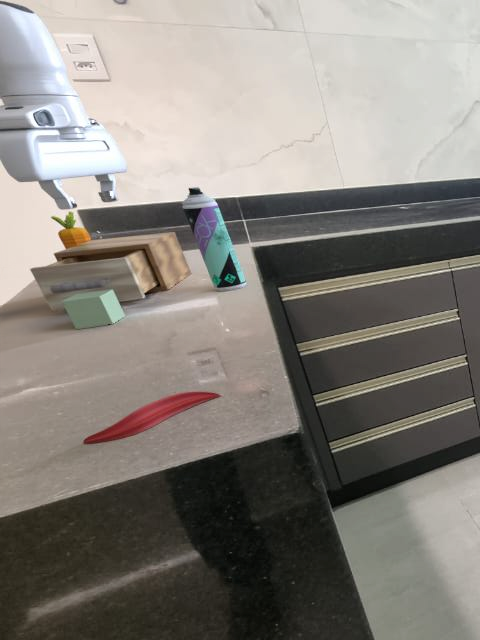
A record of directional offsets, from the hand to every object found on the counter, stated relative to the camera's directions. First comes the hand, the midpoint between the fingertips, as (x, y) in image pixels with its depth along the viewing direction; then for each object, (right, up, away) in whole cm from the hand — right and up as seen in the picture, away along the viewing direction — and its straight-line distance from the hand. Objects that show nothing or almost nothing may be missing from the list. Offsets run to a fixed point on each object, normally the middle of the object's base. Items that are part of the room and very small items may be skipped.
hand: (91, 205), depth 91 cm
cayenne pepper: (+42, -33, -33) cm, 63 cm away
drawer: (-9, -14, +13) cm, 22 cm away
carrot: (-38, -6, +37) cm, 54 cm away
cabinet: (-15, -11, +24) cm, 30 cm away
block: (+1, -20, +1) cm, 20 cm away
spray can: (+9, -12, +19) cm, 25 cm away
